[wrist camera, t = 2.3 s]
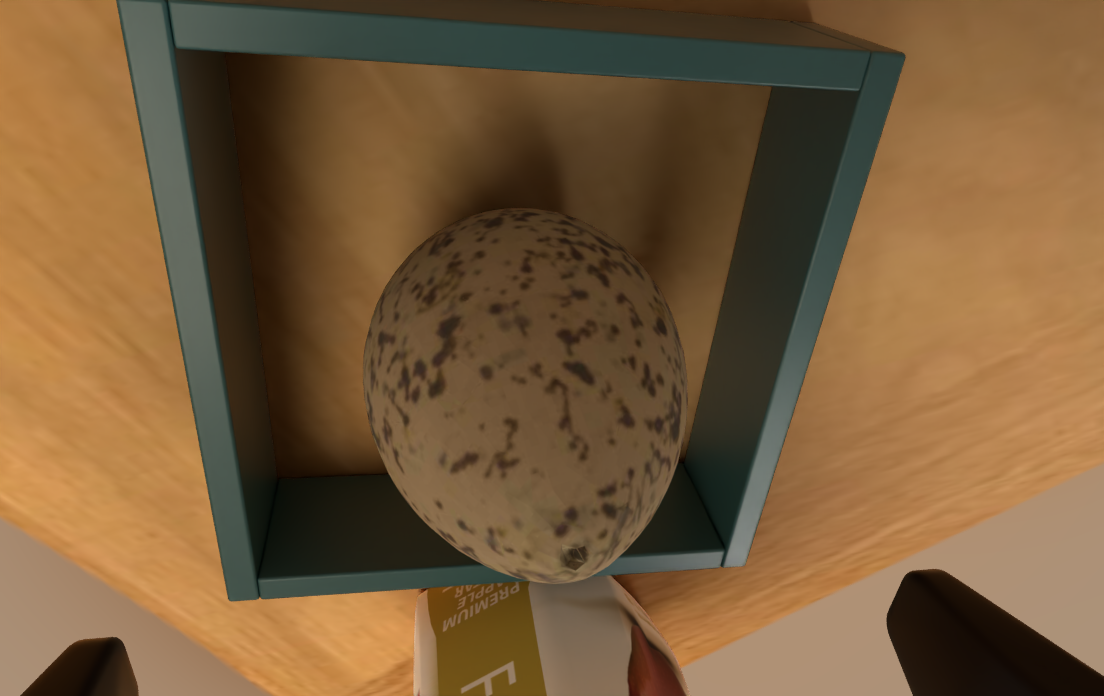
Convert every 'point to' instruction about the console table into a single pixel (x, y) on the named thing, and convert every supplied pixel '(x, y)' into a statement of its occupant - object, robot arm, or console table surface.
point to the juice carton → (540, 642)
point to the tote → (513, 44)
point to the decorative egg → (527, 392)
